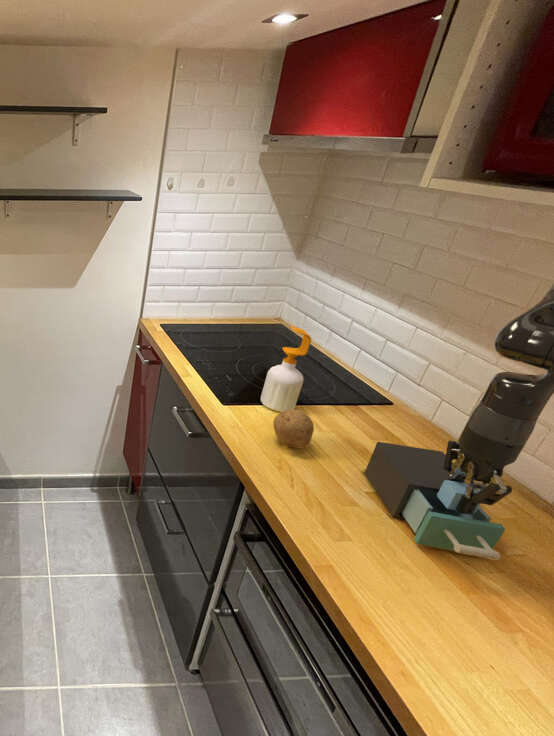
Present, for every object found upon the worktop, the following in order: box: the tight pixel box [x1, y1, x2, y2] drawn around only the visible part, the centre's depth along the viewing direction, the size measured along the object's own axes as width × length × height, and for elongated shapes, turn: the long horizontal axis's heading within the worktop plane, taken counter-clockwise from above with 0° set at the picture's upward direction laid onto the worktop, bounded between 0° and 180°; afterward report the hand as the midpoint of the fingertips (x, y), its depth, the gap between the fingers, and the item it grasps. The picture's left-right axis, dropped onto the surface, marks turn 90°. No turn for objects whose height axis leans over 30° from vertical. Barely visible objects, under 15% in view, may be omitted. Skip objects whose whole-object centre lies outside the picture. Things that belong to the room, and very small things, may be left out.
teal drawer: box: [401, 488, 506, 561], centre depth 87 cm, size 18×11×7 cm, turn 165°
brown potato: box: [273, 409, 315, 449], centre depth 113 cm, size 9×9×10 cm
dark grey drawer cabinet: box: [363, 441, 479, 521], centre depth 96 cm, size 14×13×9 cm
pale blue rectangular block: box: [437, 480, 482, 514], centre depth 84 cm, size 4×4×4 cm
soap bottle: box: [260, 325, 312, 413], centre depth 127 cm, size 9×9×25 cm
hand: (456, 503), depth 85 cm, fingers closed on pale blue rectangular block, 3 cm apart
